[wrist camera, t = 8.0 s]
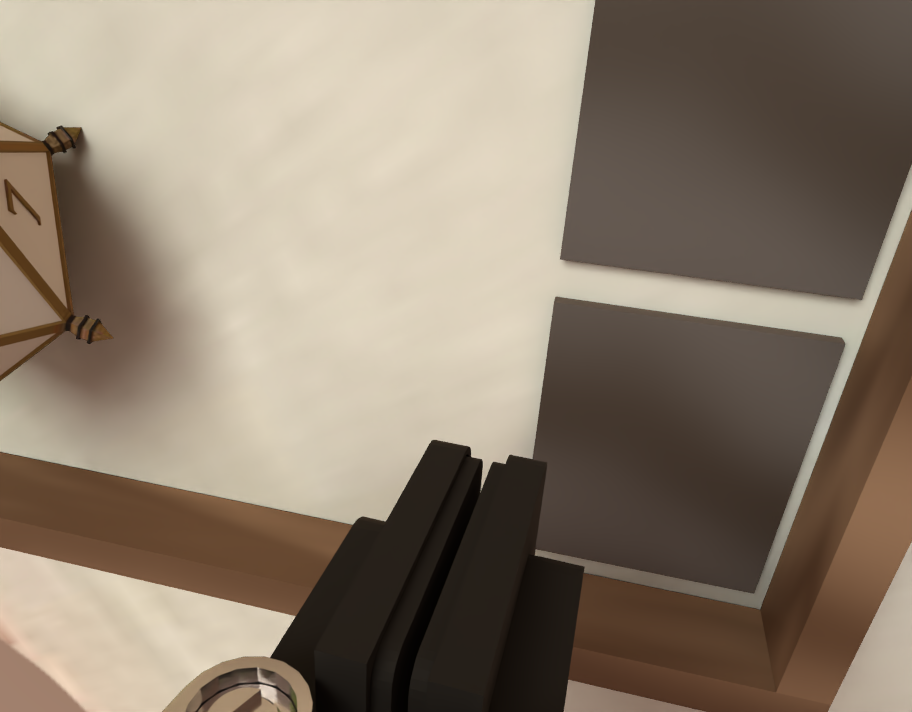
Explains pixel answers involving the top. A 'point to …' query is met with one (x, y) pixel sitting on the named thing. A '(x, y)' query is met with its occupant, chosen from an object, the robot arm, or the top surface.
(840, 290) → the shallow open wooden box
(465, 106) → the top surface
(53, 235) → the game die
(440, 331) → the top surface
